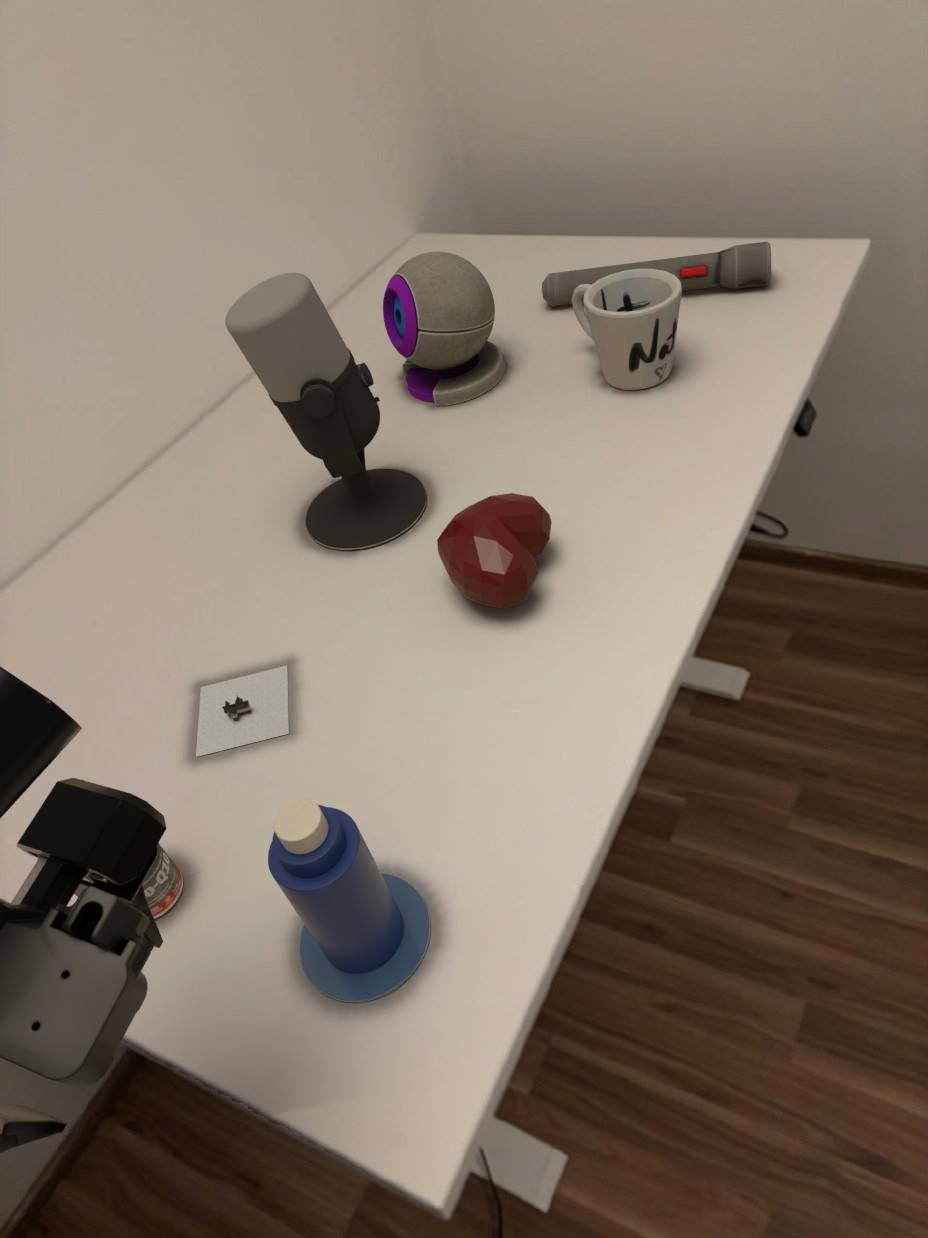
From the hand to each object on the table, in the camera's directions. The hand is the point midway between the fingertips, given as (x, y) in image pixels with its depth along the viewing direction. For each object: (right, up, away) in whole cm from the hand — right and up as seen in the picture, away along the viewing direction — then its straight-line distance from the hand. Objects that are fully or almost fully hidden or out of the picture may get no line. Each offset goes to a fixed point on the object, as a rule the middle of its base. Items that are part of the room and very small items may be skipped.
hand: (109, 1029), depth 47 cm
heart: (+21, +25, +37) cm, 49 cm away
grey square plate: (-1, +13, +31) cm, 34 cm away
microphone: (+8, +33, +48) cm, 59 cm away
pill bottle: (-4, +1, +20) cm, 21 cm away
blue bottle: (+12, 0, +14) cm, 18 cm away
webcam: (+17, +51, +65) cm, 84 cm away
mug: (+37, +50, +58) cm, 85 cm away
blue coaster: (+12, 0, +14) cm, 18 cm away
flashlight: (+43, +62, +69) cm, 103 cm away
